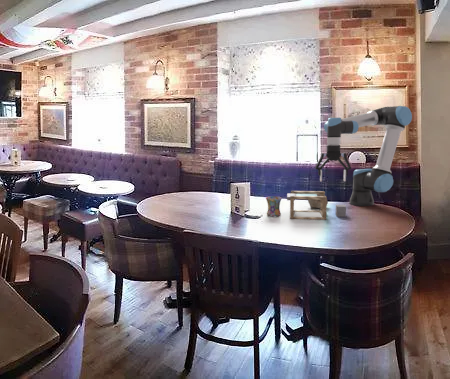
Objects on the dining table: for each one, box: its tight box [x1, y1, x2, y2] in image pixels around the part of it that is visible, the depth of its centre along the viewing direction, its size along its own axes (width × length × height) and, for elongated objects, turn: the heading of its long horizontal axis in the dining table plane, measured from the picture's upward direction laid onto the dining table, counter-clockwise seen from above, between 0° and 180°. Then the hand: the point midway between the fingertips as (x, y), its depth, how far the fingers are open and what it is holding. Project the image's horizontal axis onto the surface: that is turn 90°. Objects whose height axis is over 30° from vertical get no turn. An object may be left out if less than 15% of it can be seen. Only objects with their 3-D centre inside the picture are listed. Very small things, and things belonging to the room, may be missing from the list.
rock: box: [307, 194, 329, 209], centre depth 257 cm, size 14×10×8 cm
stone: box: [335, 204, 347, 218], centre depth 235 cm, size 5×5×6 cm
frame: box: [289, 190, 328, 221], centre depth 235 cm, size 20×18×13 cm
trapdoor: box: [286, 192, 317, 201], centre depth 235 cm, size 17×14×2 cm
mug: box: [265, 195, 282, 217], centre depth 239 cm, size 12×9×11 cm
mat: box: [294, 212, 322, 217], centre depth 236 cm, size 15×13×1 cm
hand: (332, 181), depth 235 cm, fingers open, 13 cm apart
